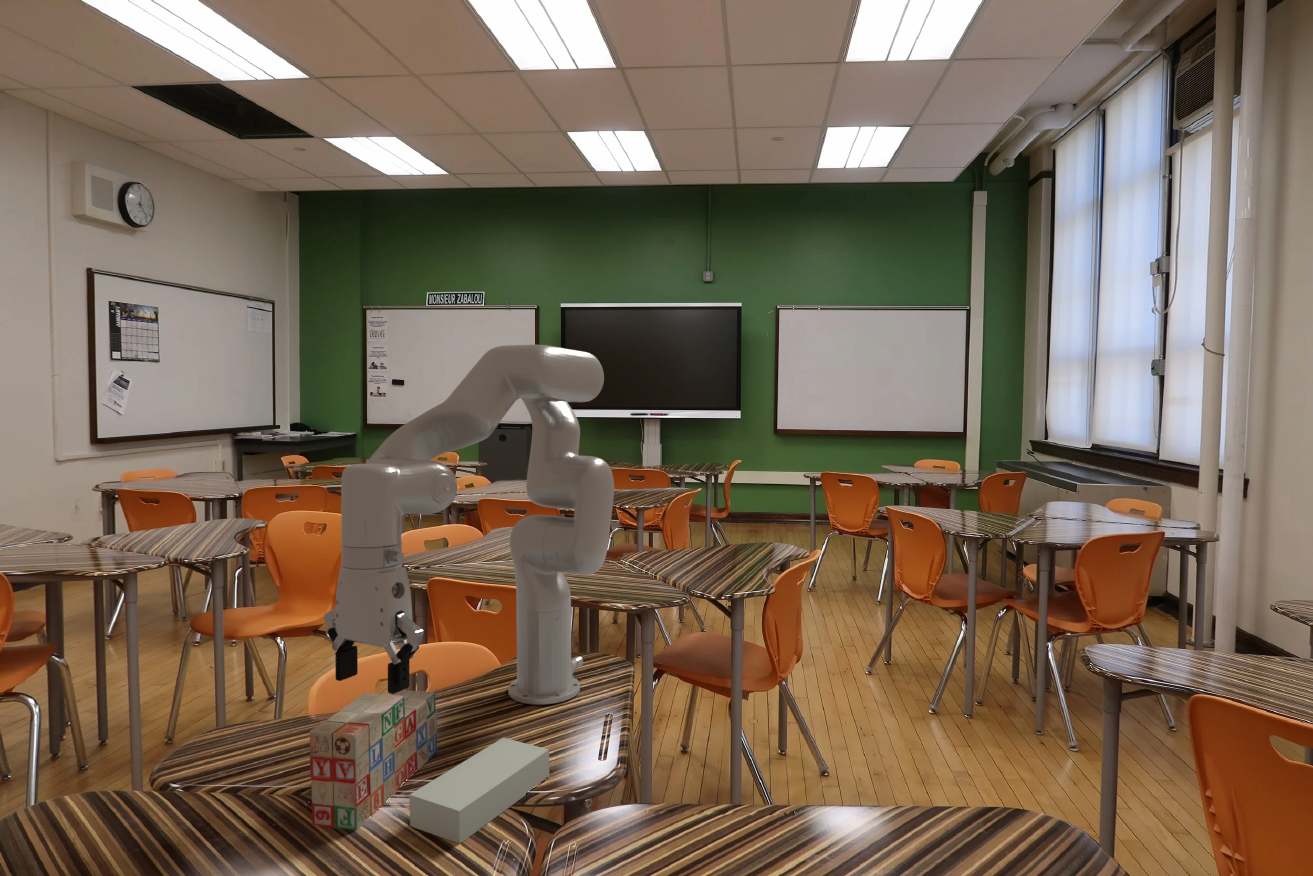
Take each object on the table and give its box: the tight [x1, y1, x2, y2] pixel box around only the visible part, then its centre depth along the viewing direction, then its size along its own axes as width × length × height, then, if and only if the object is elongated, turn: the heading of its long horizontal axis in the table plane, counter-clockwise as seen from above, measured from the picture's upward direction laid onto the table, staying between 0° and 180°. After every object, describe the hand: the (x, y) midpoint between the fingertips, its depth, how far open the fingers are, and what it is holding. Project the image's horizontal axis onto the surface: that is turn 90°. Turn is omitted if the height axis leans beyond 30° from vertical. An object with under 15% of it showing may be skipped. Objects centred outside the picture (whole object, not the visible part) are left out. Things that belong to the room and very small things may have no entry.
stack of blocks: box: [309, 689, 438, 831], centre depth 106 cm, size 21×6×12 cm, turn 169°
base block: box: [409, 737, 550, 844], centre depth 103 cm, size 18×8×4 cm, turn 152°
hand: (372, 684), depth 105 cm, fingers open, 9 cm apart
